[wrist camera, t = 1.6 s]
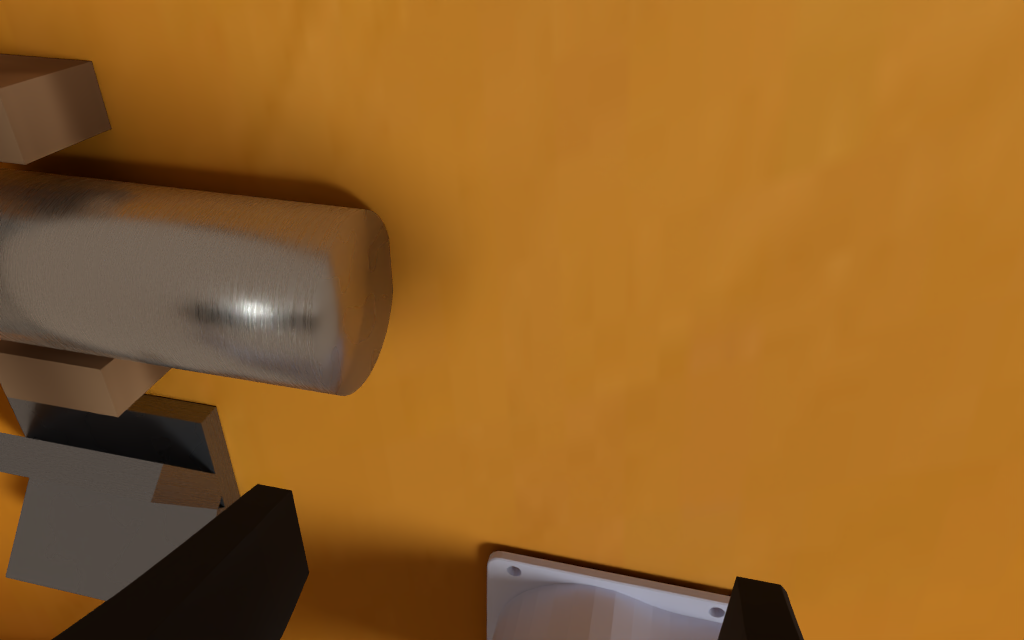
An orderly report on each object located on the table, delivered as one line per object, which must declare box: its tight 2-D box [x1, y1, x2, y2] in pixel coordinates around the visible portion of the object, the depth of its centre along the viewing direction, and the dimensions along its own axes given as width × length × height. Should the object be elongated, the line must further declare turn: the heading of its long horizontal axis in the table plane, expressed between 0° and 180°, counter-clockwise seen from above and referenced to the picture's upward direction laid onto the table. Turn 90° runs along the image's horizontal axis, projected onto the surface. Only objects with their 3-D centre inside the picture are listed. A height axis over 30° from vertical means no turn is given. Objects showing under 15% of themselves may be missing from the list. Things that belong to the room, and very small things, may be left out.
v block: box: [0, 394, 240, 601], centre depth 26 cm, size 8×8×4 cm
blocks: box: [0, 54, 171, 417], centre depth 20 cm, size 4×10×3 cm, turn 179°
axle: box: [0, 168, 393, 396], centre depth 19 cm, size 12×5×5 cm, turn 89°
